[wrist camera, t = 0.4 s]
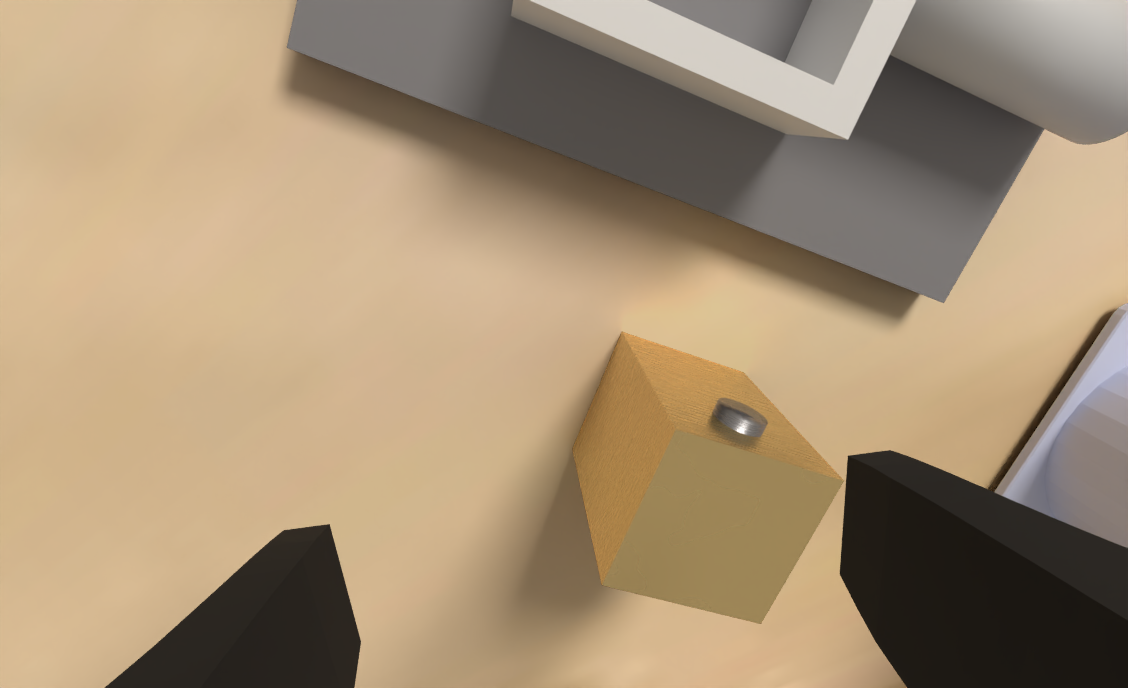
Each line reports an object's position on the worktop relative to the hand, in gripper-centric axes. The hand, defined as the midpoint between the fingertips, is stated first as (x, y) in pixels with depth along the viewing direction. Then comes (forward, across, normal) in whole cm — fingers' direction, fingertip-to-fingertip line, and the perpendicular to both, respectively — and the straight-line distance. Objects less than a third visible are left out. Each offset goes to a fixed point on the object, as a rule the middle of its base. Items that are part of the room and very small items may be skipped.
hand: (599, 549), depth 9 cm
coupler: (+10, -3, +3) cm, 11 cm away
